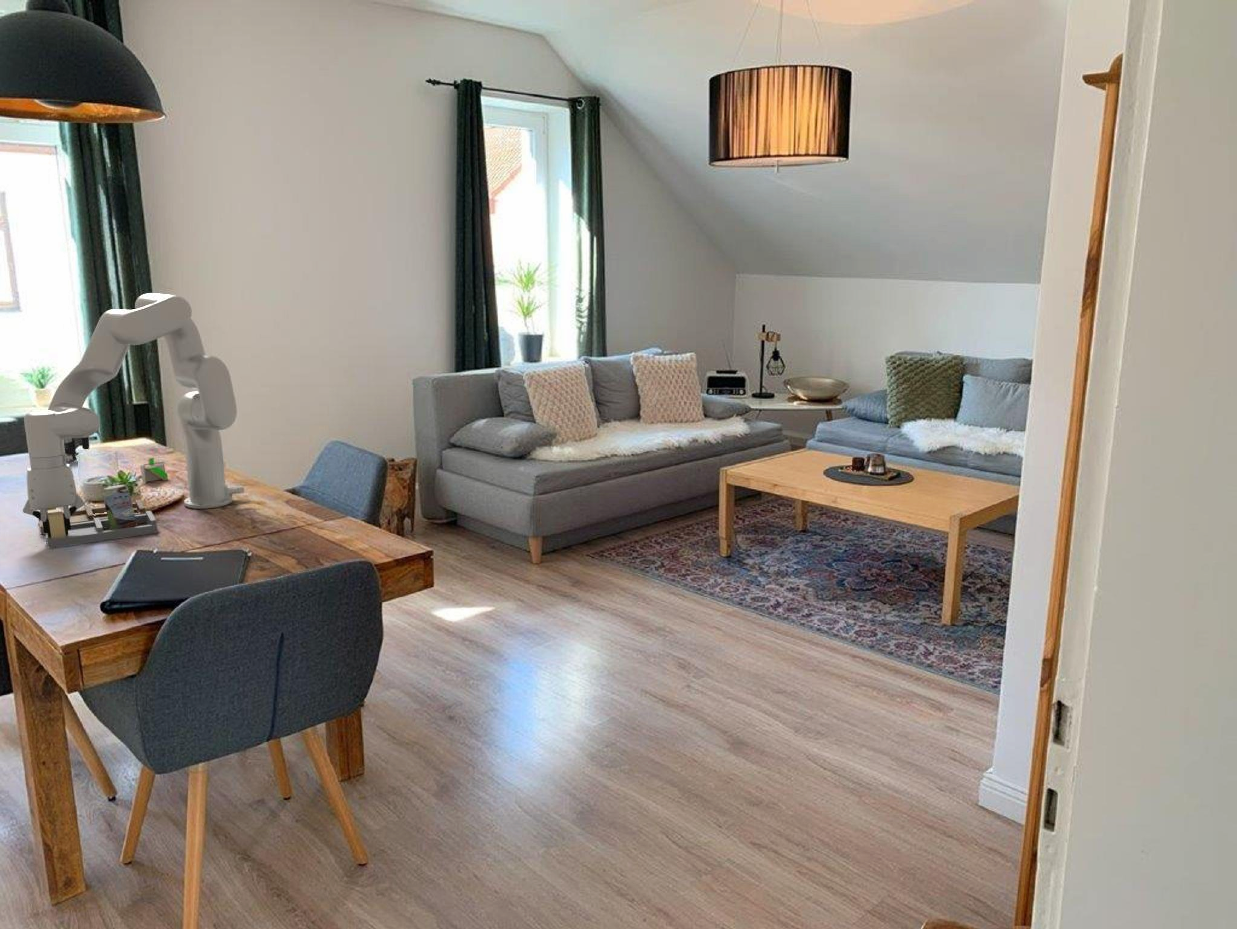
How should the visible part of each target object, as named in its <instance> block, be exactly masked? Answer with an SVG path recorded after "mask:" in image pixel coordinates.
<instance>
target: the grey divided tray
mask: <svg viewBox="0 0 1237 929" xmlns="http://www.w3.org/2000/svg"><path fill="white" fill-rule="evenodd" d="M47 512H48V519H49V524H50V531H51V536H50V537H48V534H47V533H46V534H45V538H46V544H47V549H53V548H60V547H67V546H75V545H81V544H88V543H94V542H95V543H96V542H101V541H102V542H103V541H107V540H108V541H109V540H116V539H123V538H129V537H136V536H142V535H149V534H155V533H156V534H158V533H159V529H158V524H157V520H156V518H155V515H154V514H153V512H152V511H151V510H147V511H146V510H145V512H146V514H140V515H135V519H136V523H137V526H135V527H130V528H122V529H115V530H111V529H110V525H109V521H108V519H103V520H100V519H99V518H100V517H94V521H88V522H81V523H74V524H70V525H71V530H68V534H67V535H66V534H65V527H64V519H63V513H62V512H63V509H62V508H58V509H57V508H56V510H48V511H47ZM143 523H147V524H144V525H139V526H138V524H143ZM107 528H109V529H110V530H109V529H108V530H104V529H107Z"/></svg>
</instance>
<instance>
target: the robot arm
mask: <svg viewBox="0 0 1237 929" xmlns="http://www.w3.org/2000/svg"><path fill="white" fill-rule="evenodd" d="M134 308H135V309H120V308H119V309H118V308H115V309H109V310H107V311H104V312H103V314H101V316H100V317H99V319H98V322H97V324H96V327H95V328H94V331H93V333H92V336H91V338H90V339H89V342H88V345H87V346H86V349H85V351H84V354H83V355H82V358H81V360H80V361H79V363H78V364H77V365H76V366H75V367H74V368H73V369H72V370H71V371H70V372H69V374H67V376H66V377H64V378H63V380H62V381H61V382H60V384H59V385H58V387H57V388H56V390H55V392H54V395H53V397H52V399H51V401H50V403H49V406H48V408H47V409H46V410H45V409H44V410H42V409H41V410H35V411H30V412H28V413H26V414H25V415H24V417H23V422H24V431H25V436H26V444H27V451H28V458H29V466H30V467H28V468H26V489H27V500H26V502H25V504H24V506H23V508H22V512H23V513H24V514H25V515H29V516H33V517H35V518H37V519H38V520H39V519H40V520H41V521H42V522H43V529H44V533H47V534H48V537H50V536H51V531H50V524H49V519H48V517H47V512H46V509H50V508H56V509H57V508H58V509H59V508H62V511H63V512H64V515H63V519H64V527H65V534H66V535H67V534H68V530H71V525H70V517H71V516H72V514H73V513H74V512H75V511H76V510H80V509H82V507H85V506H86V503H85V501H84V500H83V498H82V497H81V496H80V495H79V494H78V492H77V488H76V482H75V477H74V474H73V473H74V472H73V470H72V467H71V464H69V463H68V462H70V461H69V460H72V461H74V460H73V458H72V455H67V454H65V449H64V441H63V439H66V438H74V439H82V438H85V437H89V438H90V437H91V436H93V435H94V434H96V433H97V431H98V430H99V429H100V425H101V420H100V417H99V415H98V414H97V413H96V412H95V411H93V410H91V409H90V408H88V407H83V406H84V404H85V402H86V400H87V398H89V396H90V395H91V393H92V392H93V391H94V390H96V389H97V388H98V387H100V386H101V385H104V384H105V383H107V382H110V381H111V380H112V379H114V378H115V377H117V376H118V374H119V371H120V369H121V367H122V364H123V361H124V359H125V357H126V355H127V353H128V351H129V349H130V346H140V345H143V344H147V343H150V342H153V341H156V340H157V339H161V338H162V337H163V338H164V340H165V342H166V344H167V348H168V353H169V357H170V363H171V365H172V371H173V374H174V378H175V380H176V382H177V383H178V384H179V385H180V386H182V387H185V388H188V389H193V390H194V391H190V392H187V393H185V394H183V396H181V398H180V399H179V401H178V403H177V409H176V411H177V416H178V419H179V420H178V421H179V423H180V426H181V427H180V428H181V431H182V436H183V437H182V438H183V444H184V452H185V453H184V454H185V455H184V456H185V464H186V472H187V473H186V474H187V482H188V492H189V496H188V497H187V498H185V499H184V500H183V504H184V506H185V508H186V507H187V508H190V509H202V510H203V509H205V510H206V509H213V508H220V507H224V506H226V505H229V504H231V503H233V500H234V499H233V498H234V497H233V495H234V494H235V495H238V494H244V493H245V487H244V486H237V485H236V486H234V485H233V486H229V485H227V484H226V475H225V463H224V453H223V444H222V443H223V440H222V436H221V432H220V431H222V430H223V431H224V430H228V429H229V428H230V427H231V426H233V424H234V423H235V421H236V418H237V412H238V410H237V408H238V407H237V403H236V402H237V401H236V398H235V397H236V396H235V392H234V387H233V383H232V379H231V378H232V377H231V374H230V371H229V369H228V367H227V365H226V364H225V363H224V362H223V361H222V359H220V358H218V356H217V357H216V356H213V355H210V354H206V352H205V350H204V344H203V342H202V337H201V335H200V332H199V329H198V327H197V325H196V323H195V322H194V319H192V316H193V315H192V314H193V310H192V306H191V305H190V303H189V302H188V301H187V299H185V298H184V297H182V296H180V295H177V294H176V295H175V294H165V293H156V292H155V293H154V292H149V293H144V294H142V295H140V296H138V297H137V299H136V300H135V302H134Z"/></svg>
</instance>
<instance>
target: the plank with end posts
mask: <svg viewBox="0 0 1237 929" xmlns="http://www.w3.org/2000/svg"><path fill="white" fill-rule="evenodd" d="M134 500H135V502H132V506H133V508H137V511H138V513H137V511H136V512H134V514H135V515H140V514H146V507H145V505H144V504H143V503H142V500H141V499H140V498H139V499H134ZM56 509H57V508H50V509H46V512H47V511H48V510H56ZM104 512H106V508H105V505H104V506H98V507H97V506H95V507H91V505H84V508H83V509H82V508H79V509H77V510H76V511H75V512H74V513H73V514H72V516H71V517H70V524H74V523H81V522H88V521H94V518H95V516H94V515H93V514H95V513H104ZM62 513H63V515H64V511H62ZM47 517H48V512H47ZM98 518H99V519H100V520H103V519H108V517H107V516H103V517H101V516H100V517H98ZM38 523H39V530H40V535H46V533H44V529H43V522H42V521H41V520H40V519H38Z"/></svg>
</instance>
